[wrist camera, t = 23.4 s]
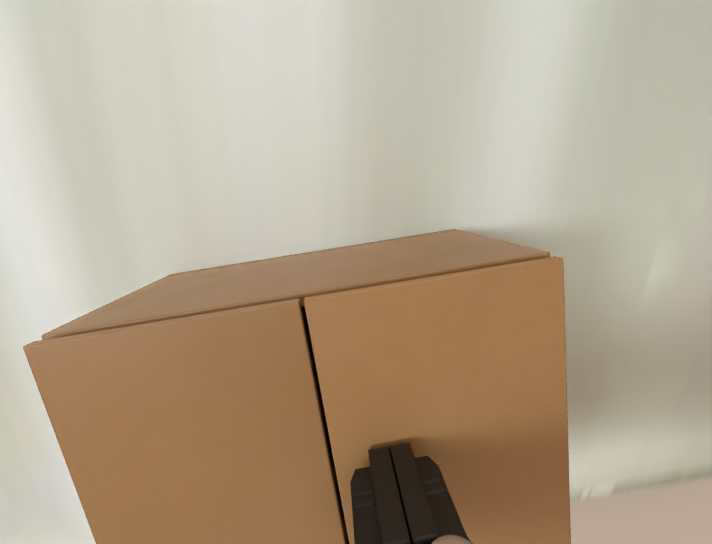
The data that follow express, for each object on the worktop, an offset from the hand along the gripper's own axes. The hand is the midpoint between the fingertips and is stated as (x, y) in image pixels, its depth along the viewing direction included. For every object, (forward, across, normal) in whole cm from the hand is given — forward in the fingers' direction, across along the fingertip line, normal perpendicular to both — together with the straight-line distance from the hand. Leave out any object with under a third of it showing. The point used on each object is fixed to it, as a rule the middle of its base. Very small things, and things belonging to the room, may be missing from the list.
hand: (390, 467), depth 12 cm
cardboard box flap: (0, -2, 0) cm, 2 cm away
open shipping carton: (+10, +2, 0) cm, 10 cm away
